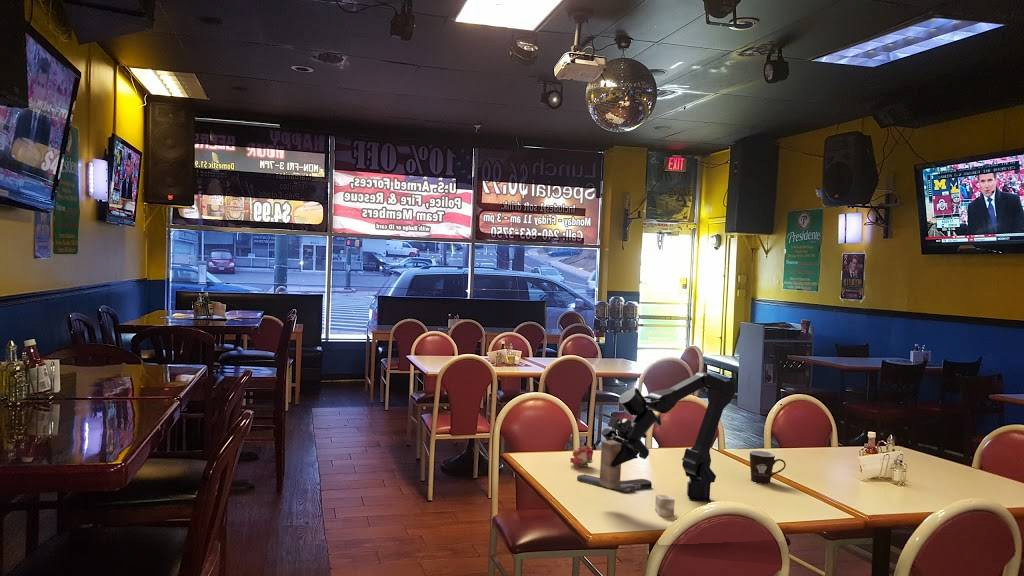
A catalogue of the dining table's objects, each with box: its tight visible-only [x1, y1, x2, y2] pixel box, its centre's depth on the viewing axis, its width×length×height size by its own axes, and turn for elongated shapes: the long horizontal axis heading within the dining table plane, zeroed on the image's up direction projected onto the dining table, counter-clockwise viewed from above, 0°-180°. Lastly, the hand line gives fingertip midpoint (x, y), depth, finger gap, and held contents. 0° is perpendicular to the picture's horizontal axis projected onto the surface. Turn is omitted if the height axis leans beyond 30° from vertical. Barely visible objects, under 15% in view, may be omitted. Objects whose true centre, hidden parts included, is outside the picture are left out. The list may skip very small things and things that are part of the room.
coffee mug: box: [749, 450, 787, 485], centre depth 259 cm, size 12×9×10 cm
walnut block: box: [599, 440, 622, 489], centre depth 220 cm, size 4×5×13 cm
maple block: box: [654, 494, 676, 517], centre depth 217 cm, size 4×4×5 cm
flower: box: [569, 445, 594, 469], centre depth 267 cm, size 10×9×8 cm
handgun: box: [576, 473, 653, 493], centre depth 247 cm, size 3×22×14 cm
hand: (606, 463), depth 219 cm, fingers closed on walnut block, 5 cm apart
